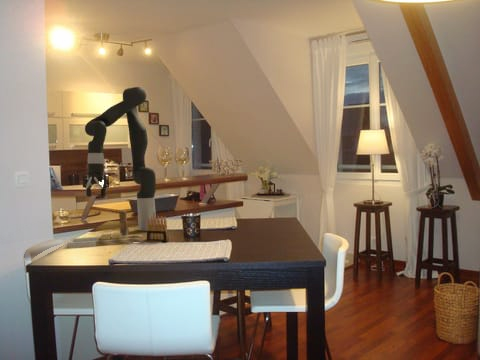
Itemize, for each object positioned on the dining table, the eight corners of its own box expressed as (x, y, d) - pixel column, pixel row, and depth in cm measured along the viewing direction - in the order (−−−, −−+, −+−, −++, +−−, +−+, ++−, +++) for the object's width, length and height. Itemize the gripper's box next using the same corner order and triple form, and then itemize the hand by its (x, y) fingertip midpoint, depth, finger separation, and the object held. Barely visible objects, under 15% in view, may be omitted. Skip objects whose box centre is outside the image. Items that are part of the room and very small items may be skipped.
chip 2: (122, 241, 221) (122, 232, 221) (121, 242, 217) (121, 234, 217) (113, 241, 220) (113, 233, 220) (112, 243, 216) (112, 234, 216)
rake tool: (127, 238, 231) (126, 210, 231) (127, 240, 227) (125, 211, 226) (121, 239, 231) (119, 210, 230) (120, 241, 226) (118, 211, 225)
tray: (99, 243, 222) (98, 236, 222) (96, 247, 212) (95, 241, 212) (72, 245, 221) (72, 238, 220) (67, 249, 210) (67, 243, 210)
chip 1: (111, 242, 220) (111, 233, 220) (110, 243, 216) (110, 234, 216) (102, 242, 219) (102, 234, 219) (101, 244, 215) (100, 235, 215)
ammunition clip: (168, 241, 220) (167, 215, 219) (166, 242, 218) (165, 216, 218) (149, 240, 224) (147, 215, 223) (146, 241, 222) (145, 215, 222)
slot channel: (143, 240, 226) (142, 234, 226) (141, 244, 214) (141, 238, 214) (99, 243, 223) (99, 237, 223) (95, 248, 211) (95, 241, 211)
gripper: (112, 162, 228) (112, 196, 229) (89, 163, 235) (90, 196, 235) (102, 162, 222) (102, 197, 222) (78, 162, 228) (78, 196, 228)
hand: (95, 196), depth 228 cm, fingers open, 8 cm apart
